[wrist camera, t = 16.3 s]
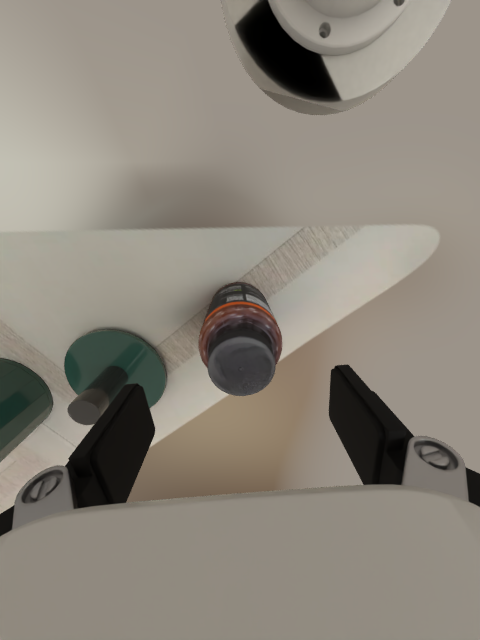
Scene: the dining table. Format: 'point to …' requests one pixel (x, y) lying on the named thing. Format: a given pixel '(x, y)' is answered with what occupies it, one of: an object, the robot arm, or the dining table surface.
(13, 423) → the pot
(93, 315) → the dining table surface
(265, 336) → the supplement bottle
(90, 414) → the lid
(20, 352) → the dining table surface
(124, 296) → the dining table surface
